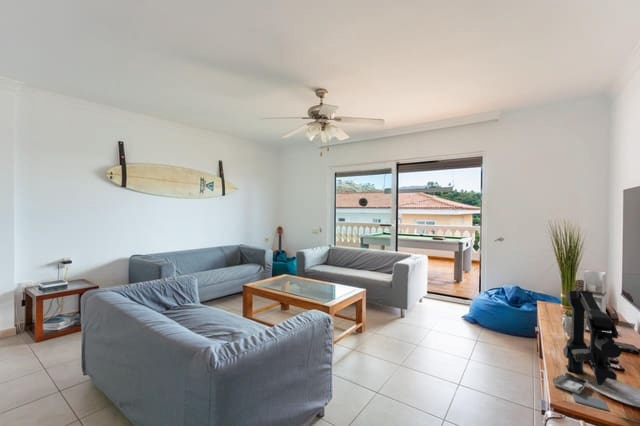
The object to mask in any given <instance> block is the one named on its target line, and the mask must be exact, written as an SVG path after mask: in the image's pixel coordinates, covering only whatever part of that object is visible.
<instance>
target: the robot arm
mask: <svg viewBox="0 0 640 426" xmlns="http://www.w3.org/2000/svg"><path fill="white" fill-rule="evenodd" d="M565 295H566V300H567V303H568V304H569V306H570V308H571V333H570V334H571V336H570V338H569V339H568V340H567V341H566V345H565V346H564V348H563V351H562V352H563V356H564V357H565V358H566V359H567V364H566V365H565V367H566V369H567V372H568V373H574V374H578V375H582V376H586V371H585V370H584V362H587V364H588V366H589V368H590V370H591V371H592V372H593V374H594V378H595V382H596V385H598V386H603V384H604V383H605V381H606V380H607V379H610V380H614V381H617V379H618V377H617V376H618V375H617V373H616V372H615V370H614V369H613V368H611V367H612V363H611V362H610V358H611V359H615V358H616V359H617V358H619V357H620V356H621V355H622V350H621V348H620V346H619V345H618V344H616V342H615V340H614V339H618V338H619V337H618V335H619V332H618V329H617V326H616V324H615V323H614V321H613V320H612V318H611V317H610V315H608V314H607V313H606V314H605V313H603V312H602V311H601V310H600V308H599V306H598V305H597V303H596V301H595V299H594V298H593V293H592V292H590V291H585V290H584V289H577V290H569V291H567V292H566V294H565ZM585 313H587V314H588V316H587V319H585V318H584V315H585ZM585 321H586V326H587V329H588V330H589V334H590V335H589V337H590V338H589V339H590V341H589V345H587V344H586V342H585Z"/></svg>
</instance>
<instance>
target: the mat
mask: <svg viewBox="0 0 640 426" xmlns="http://www.w3.org/2000/svg"><path fill="white" fill-rule="evenodd" d="M571 395H572V398H573V401H574V402H575V403H577V404H581V405H584V406H587V407H592V408H595V409H599V410H603V411H607V412H609V411H610V410H609V408H608V405H607V404H606V402H605V400H604V399H601V398H597V397H592V396H588V395H585V394H583V393H582V394H581V393H580V394H577V393H575V392H572V391H571Z"/></svg>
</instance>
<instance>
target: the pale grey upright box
mask: <svg viewBox="0 0 640 426" xmlns="http://www.w3.org/2000/svg"><path fill="white" fill-rule="evenodd" d="M583 290H585V291H590V292H592V293H593V298H594V299H595V301H596V303H597V305H598V306H599V308H600V310H601V311H602V312H603V313H605V314H607V312H606V311H607V310H606V307H607V305H606V303H607V272H604V271H596V270H587V269H586V270H585V271H583ZM584 315H586V317H587V316H588V314H587V312H585V313H584Z"/></svg>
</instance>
